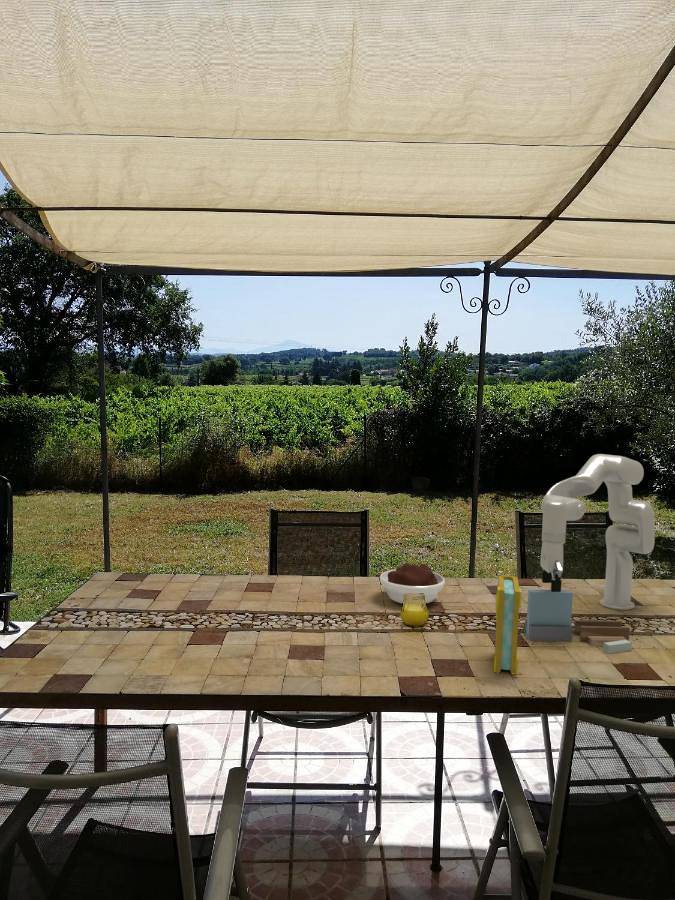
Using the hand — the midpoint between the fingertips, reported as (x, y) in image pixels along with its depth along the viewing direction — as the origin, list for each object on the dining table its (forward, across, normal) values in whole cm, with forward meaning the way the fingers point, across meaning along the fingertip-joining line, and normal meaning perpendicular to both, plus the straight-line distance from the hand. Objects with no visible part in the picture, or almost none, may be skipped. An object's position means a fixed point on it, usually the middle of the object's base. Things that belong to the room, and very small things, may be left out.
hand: (551, 587), depth 239 cm
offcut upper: (+16, +10, +18) cm, 26 cm away
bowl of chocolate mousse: (+18, -36, -42) cm, 58 cm away
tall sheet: (+17, 0, 0) cm, 17 cm away
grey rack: (+17, 0, 0) cm, 17 cm away
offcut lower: (+18, +6, +18) cm, 26 cm away
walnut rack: (+18, 0, +18) cm, 25 cm away
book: (+17, +22, -20) cm, 35 cm away
